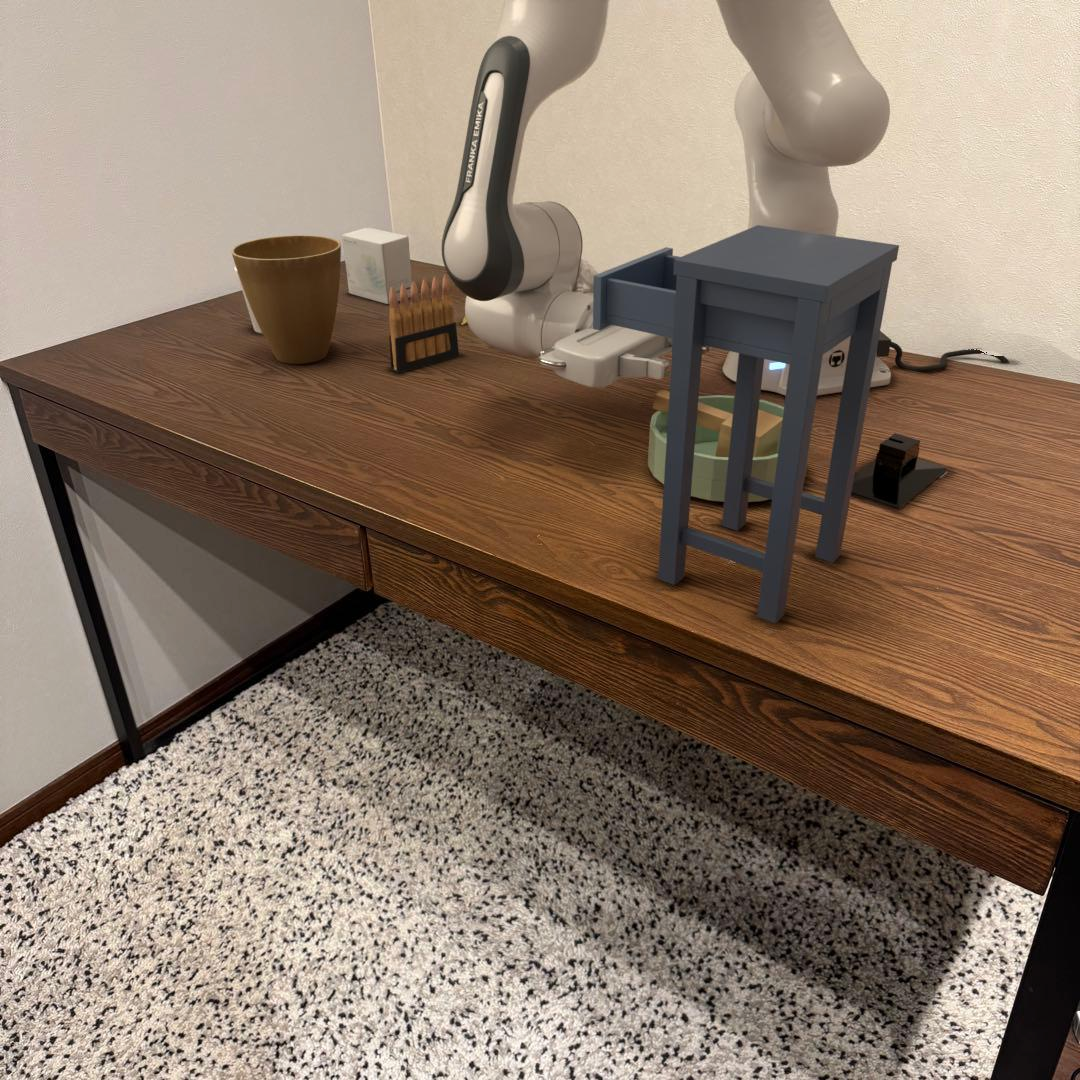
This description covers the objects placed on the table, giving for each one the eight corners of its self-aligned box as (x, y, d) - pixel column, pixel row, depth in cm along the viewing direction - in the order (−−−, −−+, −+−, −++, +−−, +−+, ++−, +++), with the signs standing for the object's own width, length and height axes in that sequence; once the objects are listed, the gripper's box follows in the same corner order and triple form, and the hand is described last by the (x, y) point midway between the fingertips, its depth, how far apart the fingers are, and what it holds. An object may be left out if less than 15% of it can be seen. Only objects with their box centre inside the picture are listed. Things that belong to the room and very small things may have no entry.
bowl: (773, 433, 114) (778, 391, 111) (828, 501, 100) (836, 454, 97) (633, 443, 112) (635, 400, 110) (669, 513, 98) (672, 465, 95)
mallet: (638, 443, 108) (645, 395, 104) (665, 425, 112) (672, 379, 109) (749, 486, 101) (759, 437, 98) (773, 466, 105) (784, 418, 102)
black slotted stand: (887, 453, 110) (894, 415, 107) (949, 472, 105) (958, 433, 103) (835, 489, 102) (842, 450, 99) (900, 511, 97) (909, 471, 95)
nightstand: (573, 547, 92) (575, 242, 77) (649, 492, 102) (664, 211, 87) (778, 625, 81) (828, 285, 66) (843, 556, 90) (899, 245, 75)
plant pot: (363, 364, 136) (350, 252, 128) (257, 380, 132) (237, 264, 123) (342, 334, 148) (329, 229, 140) (245, 347, 143) (225, 239, 135)
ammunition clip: (397, 373, 133) (389, 289, 127) (390, 370, 134) (382, 286, 128) (459, 355, 139) (454, 274, 133) (452, 352, 140) (446, 271, 134)
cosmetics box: (347, 294, 166) (340, 233, 161) (374, 286, 171) (368, 226, 165) (387, 305, 161) (381, 242, 155) (414, 296, 165) (410, 235, 159)
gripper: (528, 330, 101) (637, 356, 94) (632, 286, 115) (734, 306, 108) (529, 385, 105) (635, 415, 97) (630, 336, 119) (729, 359, 111)
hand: (688, 357), depth 103 cm, fingers open, 8 cm apart
